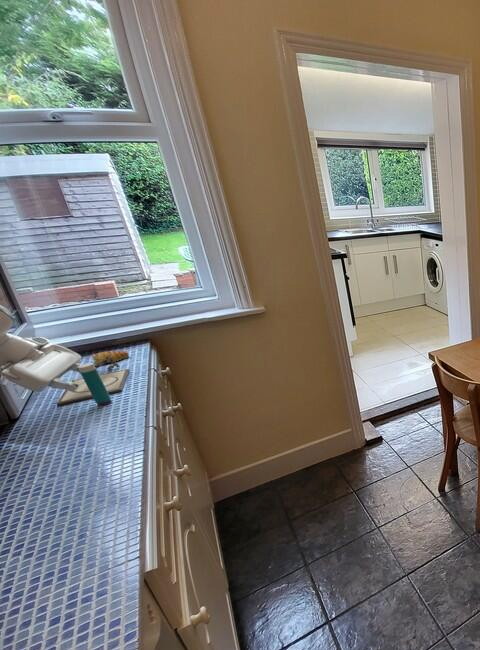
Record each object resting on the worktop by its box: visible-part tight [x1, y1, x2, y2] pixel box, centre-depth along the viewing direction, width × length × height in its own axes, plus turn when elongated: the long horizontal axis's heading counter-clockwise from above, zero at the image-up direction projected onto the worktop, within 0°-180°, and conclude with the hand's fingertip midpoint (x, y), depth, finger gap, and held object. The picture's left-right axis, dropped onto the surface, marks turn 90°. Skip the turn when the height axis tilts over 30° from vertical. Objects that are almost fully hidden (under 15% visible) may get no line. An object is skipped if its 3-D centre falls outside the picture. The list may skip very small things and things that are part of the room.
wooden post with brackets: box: [94, 356, 120, 371], centre depth 140 cm, size 2×8×4 cm, turn 107°
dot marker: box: [78, 362, 113, 407], centre depth 115 cm, size 3×3×12 cm
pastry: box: [92, 350, 130, 366], centre depth 147 cm, size 9×7×4 cm
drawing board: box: [56, 368, 130, 407], centre depth 128 cm, size 14×20×1 cm
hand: (84, 381), depth 114 cm, fingers open, 8 cm apart
